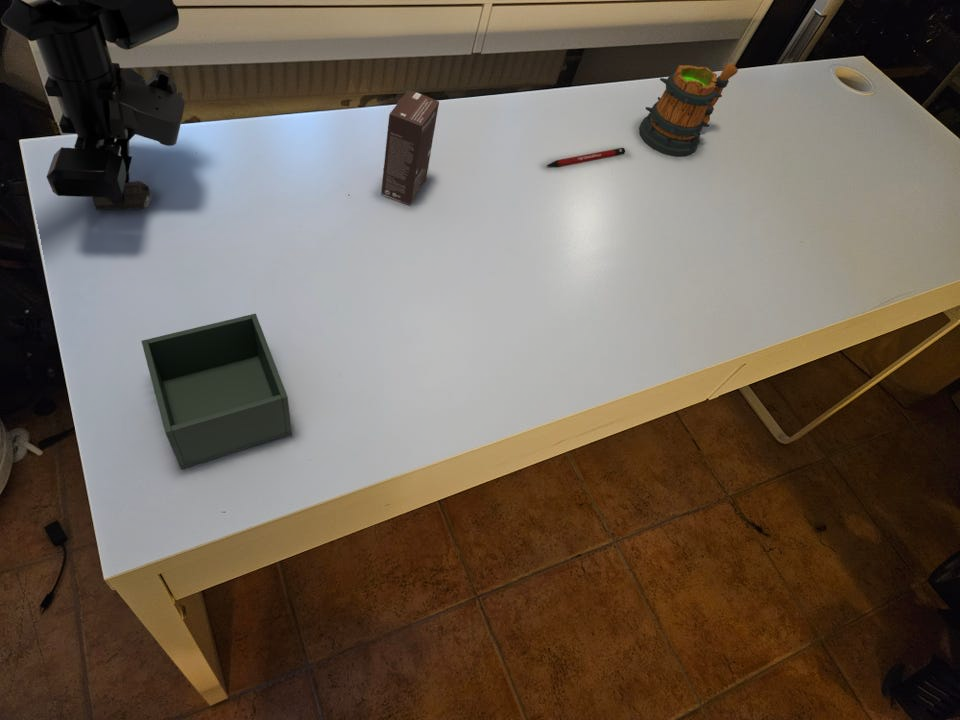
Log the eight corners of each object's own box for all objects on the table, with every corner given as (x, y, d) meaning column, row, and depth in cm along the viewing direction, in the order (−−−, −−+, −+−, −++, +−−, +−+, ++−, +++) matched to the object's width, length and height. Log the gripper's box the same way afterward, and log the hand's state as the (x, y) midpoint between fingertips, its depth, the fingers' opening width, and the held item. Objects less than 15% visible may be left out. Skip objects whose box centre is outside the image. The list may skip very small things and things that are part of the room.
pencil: (543, 166, 94) (545, 161, 93) (620, 151, 100) (622, 146, 99) (546, 170, 94) (548, 164, 93) (623, 155, 99) (625, 150, 99)
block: (92, 195, 76) (88, 182, 75) (149, 187, 78) (145, 174, 77) (97, 215, 74) (92, 203, 73) (154, 207, 77) (150, 194, 75)
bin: (180, 469, 59) (165, 432, 54) (157, 382, 63) (141, 340, 58) (292, 434, 63) (287, 396, 57) (262, 354, 67) (255, 313, 62)
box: (412, 207, 84) (422, 125, 75) (380, 195, 85) (385, 112, 75) (429, 180, 88) (440, 99, 78) (398, 169, 88) (405, 87, 79)
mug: (662, 162, 99) (695, 93, 90) (624, 122, 104) (652, 53, 95) (724, 148, 105) (761, 82, 96) (685, 111, 109) (717, 44, 100)
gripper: (157, 129, 60) (188, 251, 72) (180, 22, 70) (204, 145, 83) (18, 121, 57) (75, 250, 70) (64, 12, 68) (106, 140, 80)
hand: (121, 192), depth 76 cm, fingers closed on block, 3 cm apart
